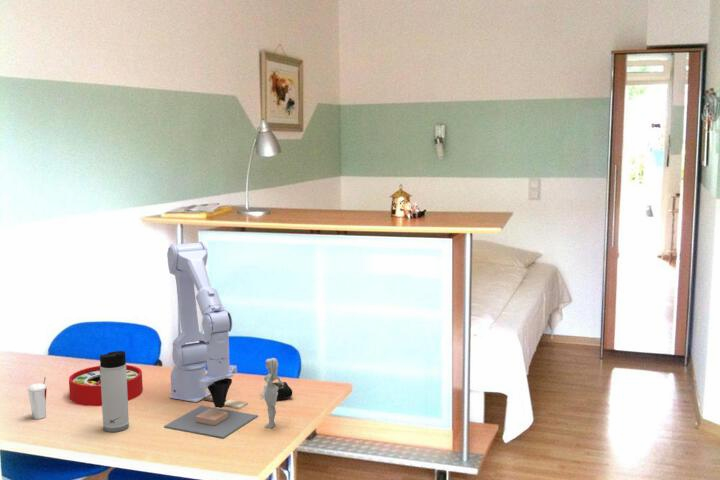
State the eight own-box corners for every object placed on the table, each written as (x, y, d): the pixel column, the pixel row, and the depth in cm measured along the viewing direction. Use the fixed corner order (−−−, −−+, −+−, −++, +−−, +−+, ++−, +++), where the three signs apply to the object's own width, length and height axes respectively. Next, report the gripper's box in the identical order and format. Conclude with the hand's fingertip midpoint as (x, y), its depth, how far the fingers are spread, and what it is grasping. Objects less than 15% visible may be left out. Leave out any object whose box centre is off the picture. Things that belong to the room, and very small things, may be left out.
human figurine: (276, 417, 199) (274, 351, 196) (289, 419, 198) (288, 352, 195) (254, 434, 188) (253, 364, 185) (268, 436, 186) (267, 366, 184)
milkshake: (54, 414, 202) (52, 378, 200) (39, 421, 197) (37, 384, 195) (40, 412, 203) (38, 376, 202) (26, 419, 198) (23, 382, 197)
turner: (200, 402, 211) (200, 398, 210) (208, 397, 214) (208, 394, 214) (239, 408, 205) (239, 405, 205) (247, 404, 209) (247, 400, 209)
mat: (164, 427, 192) (164, 425, 192) (201, 406, 207) (201, 405, 207) (223, 438, 185) (223, 437, 185) (257, 416, 200) (257, 415, 200)
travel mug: (115, 434, 188) (111, 356, 185) (97, 429, 191) (94, 352, 189) (135, 426, 193) (131, 350, 190) (117, 421, 197) (114, 346, 194)
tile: (209, 414, 200) (195, 422, 195) (209, 408, 200) (195, 416, 194) (228, 418, 198) (215, 426, 192) (228, 412, 197) (214, 420, 192)
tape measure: (293, 400, 212) (292, 387, 212) (269, 403, 210) (268, 390, 210) (287, 392, 219) (287, 380, 218) (264, 395, 217) (264, 382, 216)
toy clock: (55, 385, 208) (88, 363, 228) (56, 405, 209) (89, 382, 229) (125, 387, 206) (152, 365, 226) (126, 407, 207) (153, 384, 227)
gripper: (214, 366, 189) (216, 418, 191) (246, 351, 202) (247, 399, 204) (191, 362, 192) (193, 414, 193) (223, 348, 205) (225, 396, 207)
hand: (219, 406), depth 199 cm, fingers closed
